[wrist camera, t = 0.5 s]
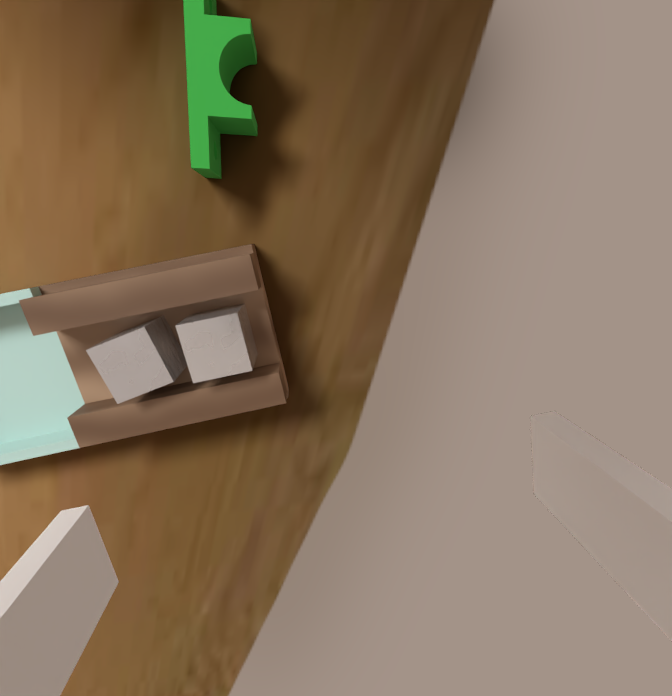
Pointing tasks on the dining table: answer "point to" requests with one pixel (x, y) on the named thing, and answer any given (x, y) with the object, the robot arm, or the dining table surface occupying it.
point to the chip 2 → (217, 343)
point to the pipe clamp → (215, 81)
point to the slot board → (175, 305)
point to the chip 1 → (139, 359)
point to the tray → (33, 387)
